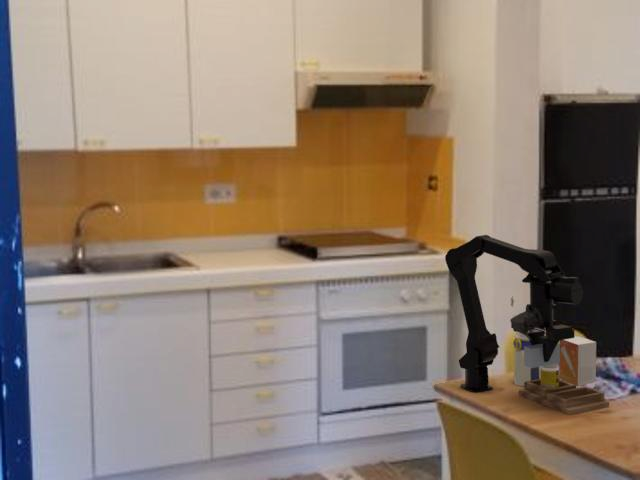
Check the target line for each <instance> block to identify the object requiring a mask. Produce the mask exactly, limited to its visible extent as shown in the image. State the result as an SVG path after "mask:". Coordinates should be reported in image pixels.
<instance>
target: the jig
mask: <svg viewBox="0 0 640 480" xmlns="http://www.w3.org/2000/svg"><path fill="white" fill-rule="evenodd" d="M523 387H524V388H521V389H518V391H517V393H518V395H520V396H522V397H525V398H527V399H528V400H532V401H534V402H537V403H539V404H542V405H544V406H546V407H549V408H551V409H554V410H556V411H558V412H561V413H563V414H566V415H568V416H571V415H575V414H580V413H586V412H590V411H595V410H601V409H604V408H609V407H610V401H607V400H605V392H603V391H600V390H598V389H596V388H590V387H587V386H586V387H580V388H576V385H574V384H571V383H568V382H565V381H563V380H560V379H559V387H558V388H552V389H546V388H543V387H541V379H537V380H532V381H526V382H524V386H523Z"/></svg>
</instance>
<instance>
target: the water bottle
mask: <svg viewBox="0 0 640 480" xmlns="http://www.w3.org/2000/svg"><path fill="white" fill-rule="evenodd" d="M511 296H512V297H510V302H511V303H510V306H511V307H512V308H514V302H515V300H514V295H513V294H512V295H511ZM520 313H521V312H519V313H514V314H513V315H512V318H513V317H515V316H517V315H519V314H520ZM512 345H513V348H514V355H513V356H514V359H513V360H514V361H513V362H514V371H513V384H514V385H516V386H519V387H524V382H526V381H532V380H537V379H541V367H542V366H541V367H535V368H530V367H527V366H524V346H530V345H531V343H530V341H529V339H528V337H526V336H525V335H524V334H522V333H520V332H517V331H516V332H515V334H514V339H513V342H512Z"/></svg>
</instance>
